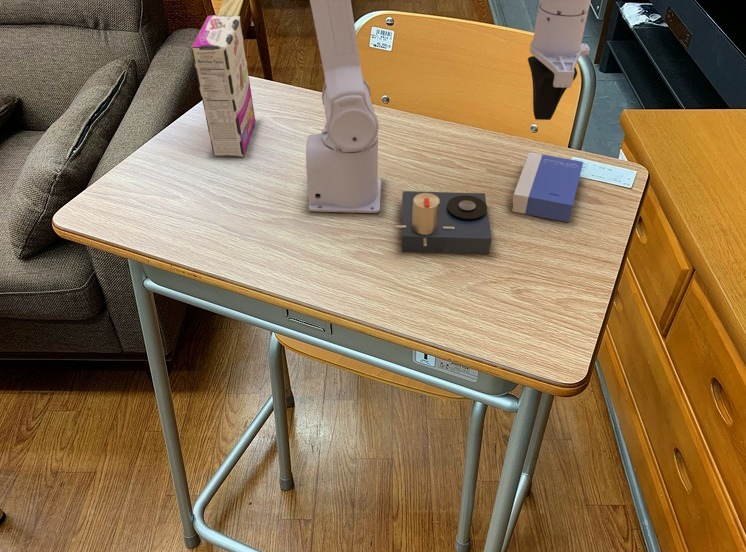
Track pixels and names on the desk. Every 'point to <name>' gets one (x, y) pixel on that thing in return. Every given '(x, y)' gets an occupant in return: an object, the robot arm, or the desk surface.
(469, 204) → the burner
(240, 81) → the candy bar box
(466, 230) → the hot plate
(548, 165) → the walkman
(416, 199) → the knob
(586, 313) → the desk surface
